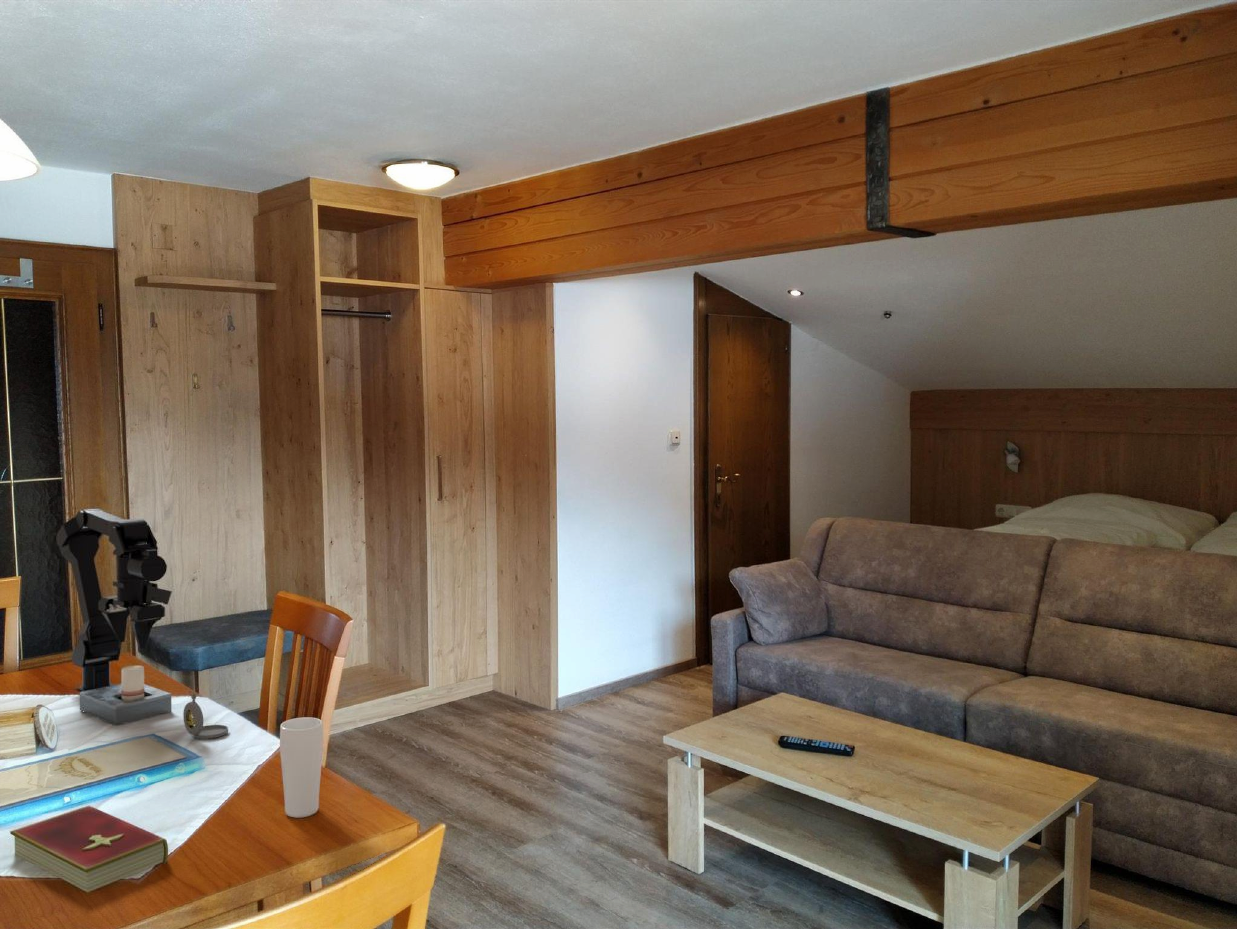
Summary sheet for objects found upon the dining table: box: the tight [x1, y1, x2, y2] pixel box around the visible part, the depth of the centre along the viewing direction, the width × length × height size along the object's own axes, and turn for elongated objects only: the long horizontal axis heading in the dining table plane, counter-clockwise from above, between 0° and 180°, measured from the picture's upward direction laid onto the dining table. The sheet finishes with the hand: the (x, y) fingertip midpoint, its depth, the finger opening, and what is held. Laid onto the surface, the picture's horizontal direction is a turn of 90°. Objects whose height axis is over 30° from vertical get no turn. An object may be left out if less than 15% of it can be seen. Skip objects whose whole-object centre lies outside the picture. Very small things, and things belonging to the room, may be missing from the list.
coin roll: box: [120, 665, 145, 702], centre depth 209 cm, size 4×4×10 cm
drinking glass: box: [279, 716, 324, 819], centre depth 159 cm, size 7×7×15 cm
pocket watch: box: [182, 690, 229, 739], centre depth 196 cm, size 8×8×10 cm
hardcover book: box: [9, 805, 169, 894], centre depth 143 cm, size 12×21×4 cm, turn 57°
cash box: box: [79, 683, 172, 726], centre depth 211 cm, size 16×12×4 cm
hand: (131, 645), depth 216 cm, fingers open, 9 cm apart
